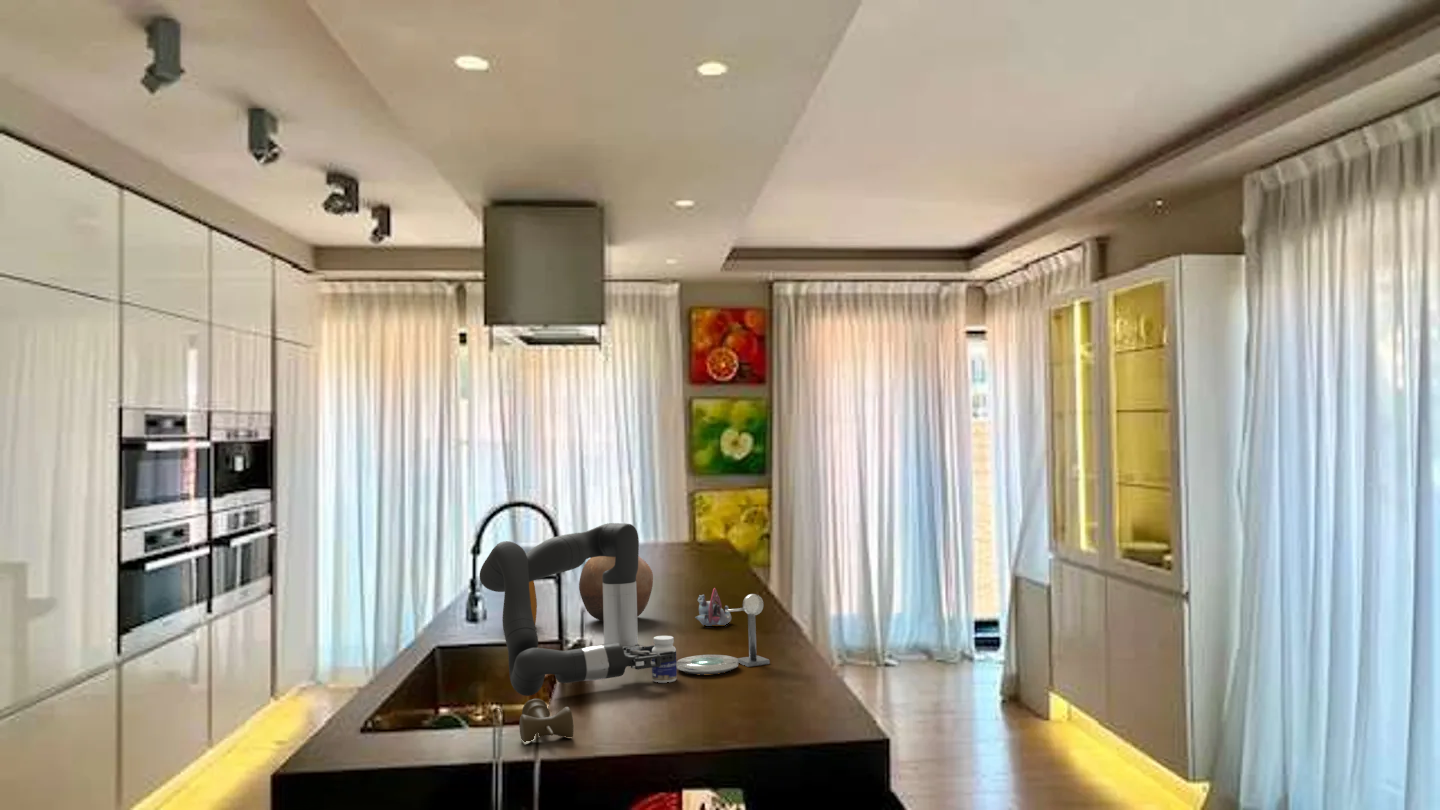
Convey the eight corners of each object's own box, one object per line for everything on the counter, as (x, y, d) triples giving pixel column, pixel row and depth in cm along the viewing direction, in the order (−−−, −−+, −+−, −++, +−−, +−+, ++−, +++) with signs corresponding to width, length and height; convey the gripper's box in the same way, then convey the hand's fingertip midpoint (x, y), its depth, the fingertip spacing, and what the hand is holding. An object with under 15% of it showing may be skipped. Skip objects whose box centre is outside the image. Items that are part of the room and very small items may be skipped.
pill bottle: (658, 684, 227) (657, 640, 227) (648, 679, 232) (647, 636, 232) (681, 681, 229) (679, 637, 230) (670, 676, 234) (669, 633, 235)
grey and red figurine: (731, 620, 291) (706, 587, 294) (703, 642, 293) (679, 609, 296) (742, 614, 302) (718, 582, 304) (715, 635, 304) (692, 603, 307)
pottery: (590, 615, 322) (588, 537, 323) (660, 614, 319) (658, 536, 320) (570, 628, 300) (568, 545, 300) (645, 628, 296) (643, 544, 297)
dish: (666, 667, 243) (666, 659, 243) (721, 660, 250) (721, 651, 250) (692, 680, 230) (692, 671, 230) (749, 671, 237) (749, 662, 237)
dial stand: (721, 664, 245) (719, 595, 246) (757, 659, 250) (755, 591, 250) (732, 669, 240) (730, 598, 240) (769, 663, 244) (767, 594, 245)
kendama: (559, 722, 201) (579, 746, 182) (510, 729, 198) (526, 755, 179) (557, 692, 201) (577, 713, 182) (509, 699, 198) (524, 721, 179)
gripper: (591, 672, 230) (655, 663, 237) (612, 685, 217) (680, 675, 224) (590, 639, 230) (654, 631, 237) (611, 650, 217) (679, 641, 225)
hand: (667, 652), depth 231 cm, fingers open, 8 cm apart
